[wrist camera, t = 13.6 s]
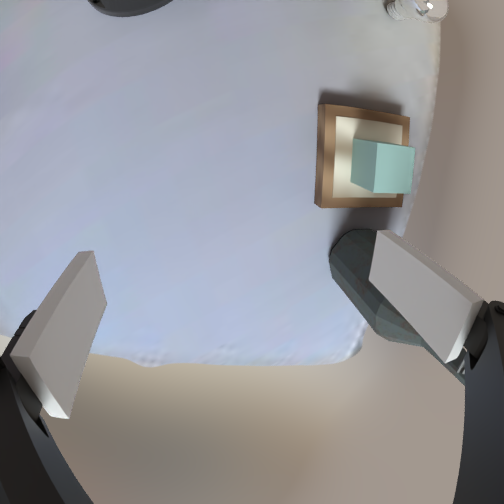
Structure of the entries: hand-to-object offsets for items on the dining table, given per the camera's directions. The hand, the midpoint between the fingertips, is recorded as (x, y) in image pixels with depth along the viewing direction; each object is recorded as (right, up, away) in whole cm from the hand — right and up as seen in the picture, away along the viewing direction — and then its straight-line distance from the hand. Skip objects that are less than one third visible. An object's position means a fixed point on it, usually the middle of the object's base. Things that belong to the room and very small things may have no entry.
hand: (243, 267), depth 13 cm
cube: (+17, +13, +24) cm, 32 cm away
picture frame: (+16, +14, +26) cm, 34 cm away
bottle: (+17, 0, +33) cm, 37 cm away
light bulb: (+22, +38, +17) cm, 47 cm away
